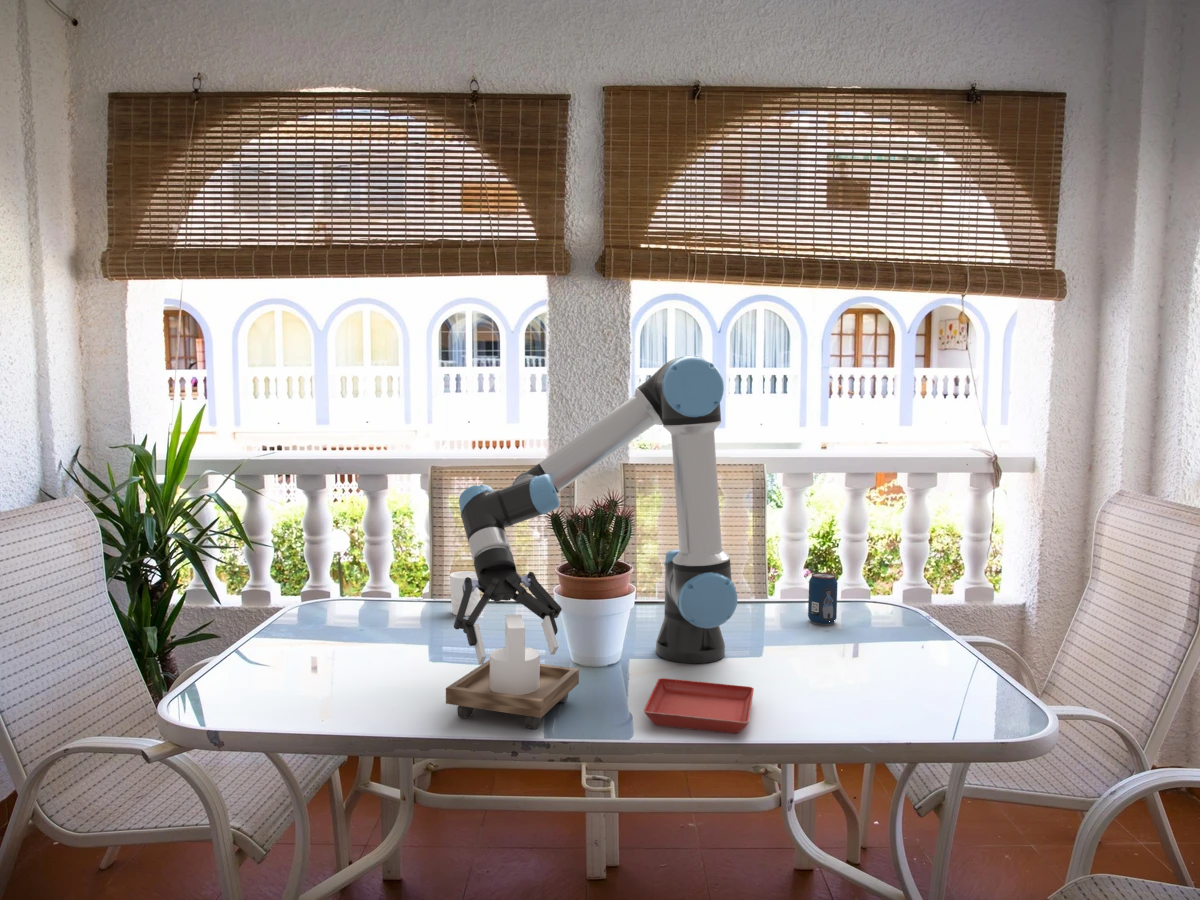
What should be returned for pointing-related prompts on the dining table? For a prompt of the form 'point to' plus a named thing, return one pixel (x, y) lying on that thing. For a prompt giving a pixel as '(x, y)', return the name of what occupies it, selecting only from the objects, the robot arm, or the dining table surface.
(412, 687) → the dining table surface
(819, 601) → the soda can
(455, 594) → the white cup
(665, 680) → the plant saucer
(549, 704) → the cart
